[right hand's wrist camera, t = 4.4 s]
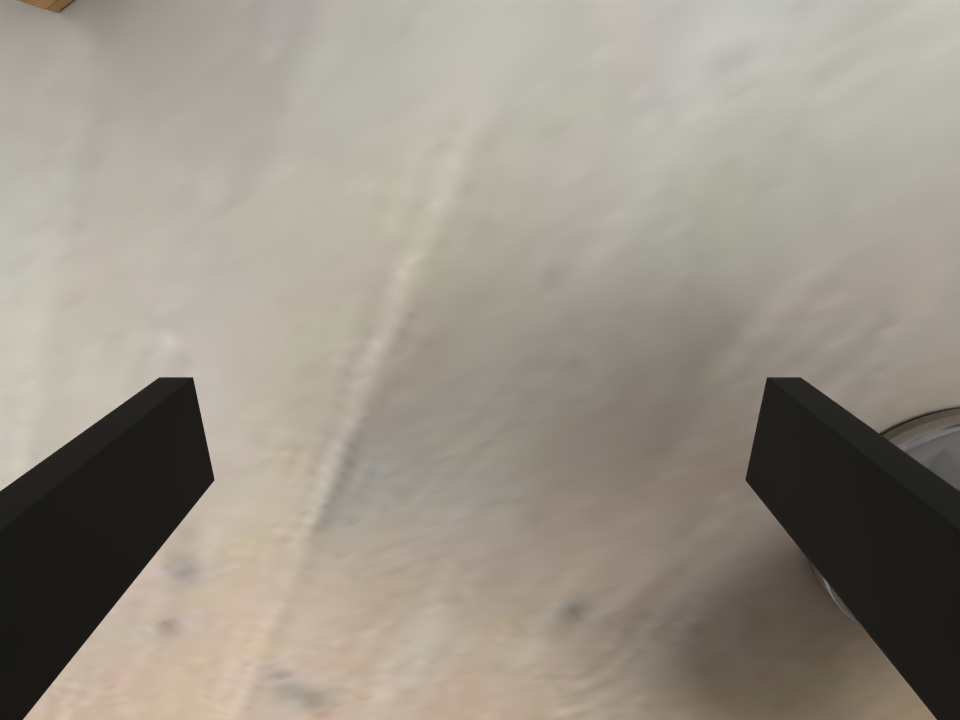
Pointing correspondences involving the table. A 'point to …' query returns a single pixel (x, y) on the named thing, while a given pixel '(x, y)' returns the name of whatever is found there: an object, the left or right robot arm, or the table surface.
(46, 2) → the chest
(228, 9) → the table surface
